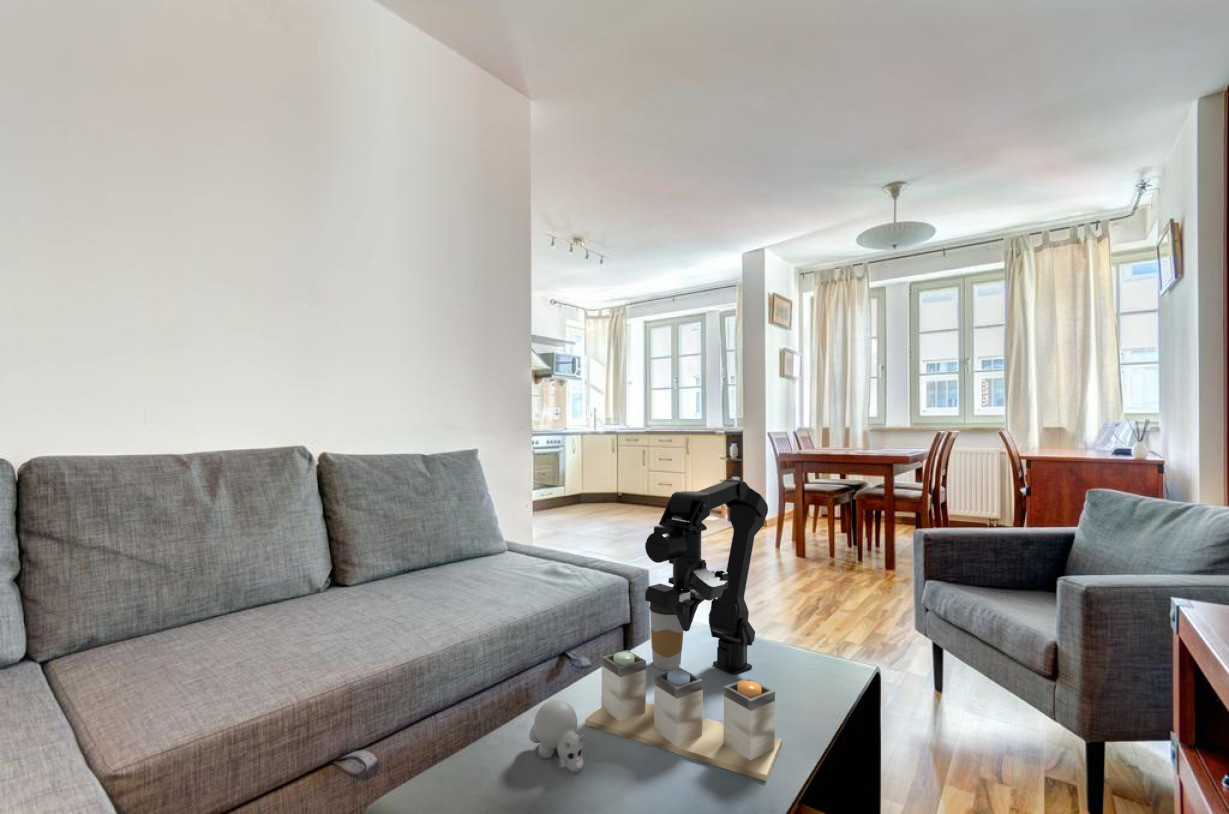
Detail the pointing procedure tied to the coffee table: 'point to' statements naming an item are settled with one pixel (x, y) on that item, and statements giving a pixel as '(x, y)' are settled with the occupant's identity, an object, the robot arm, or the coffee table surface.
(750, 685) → the orange button
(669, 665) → the coffee cup
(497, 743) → the coffee table surface
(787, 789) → the coffee table surface
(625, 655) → the sage button
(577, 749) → the toy rhinoceros
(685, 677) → the slate button
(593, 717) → the button board
